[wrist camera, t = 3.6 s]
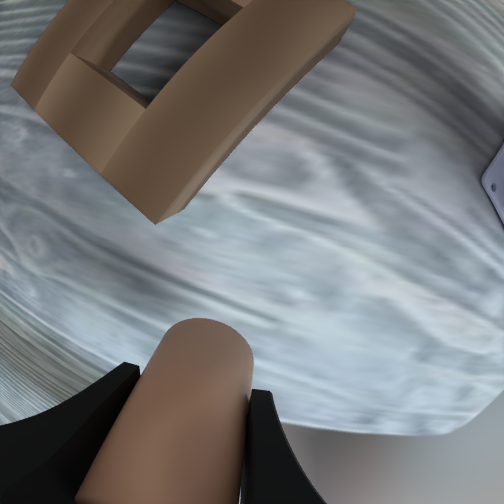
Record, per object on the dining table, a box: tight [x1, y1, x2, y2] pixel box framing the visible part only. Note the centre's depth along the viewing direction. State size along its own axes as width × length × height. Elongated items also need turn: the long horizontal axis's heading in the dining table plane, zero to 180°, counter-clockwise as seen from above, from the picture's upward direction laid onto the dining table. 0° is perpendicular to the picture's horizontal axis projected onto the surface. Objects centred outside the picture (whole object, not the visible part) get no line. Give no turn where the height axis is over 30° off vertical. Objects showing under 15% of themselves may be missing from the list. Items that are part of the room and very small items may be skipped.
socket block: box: [11, 0, 358, 225], centre depth 10 cm, size 12×12×4 cm
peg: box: [75, 318, 254, 504], centre depth 8 cm, size 4×4×8 cm
